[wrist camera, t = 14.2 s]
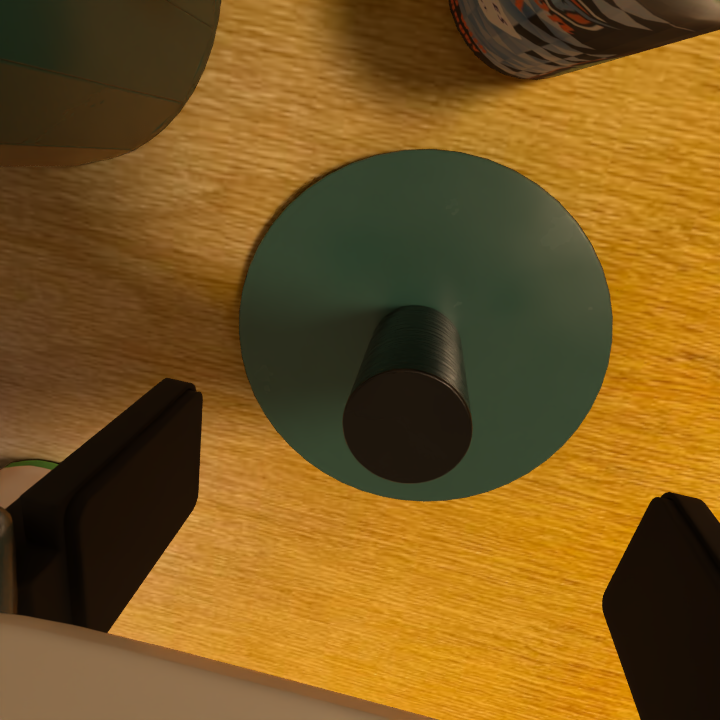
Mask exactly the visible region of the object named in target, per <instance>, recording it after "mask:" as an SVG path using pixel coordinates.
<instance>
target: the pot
mask: <svg viewBox="0 0 720 720" xmlns="http://www.w3.org/2000/svg"><path fill="white" fill-rule="evenodd" d="M220 4H221V0H0V167H20V166H78V165H81V164H85V163H88V162H96V161H101V160H106V159H111V158H114V157H117V156H120V155H122V154H125V153H128V152H130V151H132V150H134V149H136V148H138V147H139V146H141V145H143V144H145V143H146V142H148V141H149V140H151V139H152V138H153V137H154V136H156V135H157V134H158V133H159V132H161V131H162V130H163V129H164V128H165V127H166V126H167V125H168V124H169V123H170V122H171V121H172V120H173V119H174V118H175V116H176V115H177V114H178V113H179V112H180V111H181V109H182V108H183V106H184V105H185V103H186V102H187V100H188V99H189V97H190V96H191V95H192V93H193V91H194V89H195V87H196V85H197V83H198V81H199V79H200V77H201V75H202V73H203V71H204V69H205V66H206V63H207V60H208V58H209V55H210V52H211V49H212V46H213V42H214V38H215V33H216V29H217V24H218V20H219V13H220Z"/></svg>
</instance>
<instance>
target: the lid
mask: <svg viewBox="0 0 720 720" xmlns="http://www.w3.org/2000/svg"><path fill="white" fill-rule="evenodd" d="M612 321H613V316H612V308H611V301H610V293H609V289H608V285H607V282H606V279H605V275H604V272H603V268H602V266H601V264H600V261H599V259H598V257H597V255H596V253H595V250H594V248H593V246H592V244H591V242H590V241H589V239H588V238H587V236H586V235H585V233H584V232H583V230H582V229H581V227H580V226H579V224H578V223H577V221H576V220H575V219H574V218H573V217H572V216H571V215H570V214H569V212H568V211H567V210H566V209H565V208H564V207H563V206H562V205H561V204H560V202H559V201H557V200H556V199H555V198H554V197H553V196H551V195H550V194H549V193H548V192H546V191H545V190H544V189H543V188H542V187H540V186H539V185H538V184H536V183H535V182H533V181H531V180H530V179H528V178H526V177H525V176H523V175H521V174H520V173H518V172H516V171H515V170H513V169H510V168H508V167H506V166H503V165H501V164H498V163H496V162H494V161H491V160H489V159H486V158H482V157H478V156H474V155H470V154H466V153H462V152H455V151H446V150H437V149H417V150H401V151H396V152H390V153H384V154H378V155H375V156H372V157H369V158H366V159H363V160H359V161H356V162H353V163H351V164H349V165H347V166H344V167H342V168H340V169H338V170H336V171H334V172H332V173H330V174H328V175H326V176H325V177H324V178H322V179H321V180H319V181H318V182H316V183H315V184H313V185H312V186H310V187H309V188H307V189H306V190H305V191H304V192H302V193H301V194H300V195H299V196H298V197H297V198H296V199H295V200H294V201H292V202H291V203H290V204H289V205H288V206H287V207H286V208H285V209H284V211H283V212H282V213H281V214H280V215H279V217H278V218H277V219H276V220H275V221H274V223H273V224H272V225H271V227H270V228H269V230H268V231H267V233H266V234H265V236H264V238H263V239H262V241H261V242H260V244H259V246H258V248H257V250H256V252H255V255H254V257H253V259H252V261H251V264H250V266H249V269H248V272H247V276H246V279H245V283H244V286H243V290H242V297H241V303H240V310H239V337H240V345H241V354H242V358H243V362H244V366H245V370H246V374H247V377H248V380H249V382H250V385H251V387H252V390H253V393H254V395H255V397H256V399H257V401H258V403H259V404H260V406H261V408H262V410H263V412H264V414H265V415H266V417H267V418H268V419H269V421H270V422H271V424H272V425H273V426H274V428H275V429H276V431H277V432H278V433H279V434H280V435H281V436H282V437H283V439H284V440H285V441H286V442H287V443H288V444H289V445H290V446H291V447H292V448H293V449H294V450H295V451H296V452H297V453H299V454H300V455H301V456H302V457H303V458H304V459H305V460H307V461H308V462H309V463H311V464H312V465H314V466H315V467H317V468H318V469H319V470H321V471H322V472H324V473H326V474H327V475H329V476H331V477H333V478H335V479H337V480H338V481H340V482H342V483H345V484H347V485H349V486H352V487H354V488H357V489H359V490H362V491H365V492H369V493H372V494H375V495H379V496H383V497H388V498H394V499H400V500H410V501H446V500H452V499H459V498H466V497H470V496H474V495H477V494H481V493H485V492H488V491H491V490H493V489H496V488H499V487H501V486H504V485H506V484H509V483H511V482H512V481H514V480H516V479H518V478H520V477H522V476H524V475H526V474H527V473H529V472H530V471H532V470H533V469H535V468H536V467H538V466H539V465H541V464H542V463H543V462H545V461H546V460H547V459H548V458H550V457H551V456H552V455H553V454H554V453H555V452H556V451H557V450H559V449H560V448H561V447H562V446H563V445H564V444H565V443H566V441H567V440H568V439H569V438H570V437H571V436H572V435H573V433H574V432H575V431H576V430H577V429H578V427H579V426H580V424H581V423H582V421H583V420H584V418H585V417H586V415H587V414H588V412H589V411H590V409H591V407H592V405H593V403H594V401H595V399H596V397H597V395H598V393H599V391H600V389H601V386H602V383H603V379H604V376H605V373H606V370H607V367H608V363H609V357H610V351H611V345H612Z"/></svg>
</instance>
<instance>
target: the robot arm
mask: <svg viewBox="0 0 720 720" xmlns="http://www.w3.org/2000/svg"><path fill="white" fill-rule="evenodd" d="M202 403H203V397H202V394H201V392H197V391H196V388H195V385H194V384H192V383H188V382H184V381H179V380H175V379H170V378H165V379H163V380H162V381H161V382H160V383H158V384H157V385H156V386H155V387H153V388H152V389H151V390H150V391H149V392H147V393H146V394H145V395H144V396H142V397H141V398H140V399H139V400H137V401H136V402H135V403H134V404H133V405H131V406H130V407H129V408H128V409H126V410H125V411H124V412H123V413H121V414H120V415H119V416H118V417H117V418H115V419H114V420H113V421H112V422H110V423H109V424H108V425H107V426H105V427H104V428H103V429H102V430H100V431H99V432H98V433H97V434H96V435H94V436H93V437H92V438H91V439H89V440H88V441H87V442H86V443H84V444H83V445H82V446H81V447H80V448H78V449H77V450H76V451H75V452H73V453H72V454H71V455H70V456H68V457H67V458H66V459H65V460H64V461H62V462H61V463H60V464H59V465H57V466H56V467H55V468H54V469H52V470H51V471H50V472H49V473H48V474H46V475H45V476H44V477H43V478H41V479H40V480H39V481H38V482H36V483H35V484H34V485H33V486H32V487H30V488H29V489H28V490H27V491H25V492H24V493H23V494H22V495H20V497H19V498H18V499H17V500H15V501H14V502H13V503H12V504H11V505H9V506H8V507H7V508H6V509H4V508H3V507H0V720H438V719H434V718H430V717H426V716H423V715H419V714H415V713H412V712H408V711H404V710H400V709H397V708H393V707H389V706H386V705H382V704H378V703H374V702H371V701H367V700H363V699H359V698H356V697H352V696H348V695H344V694H341V693H337V692H333V691H330V690H326V689H322V688H318V687H314V686H311V685H307V684H303V683H299V682H295V681H292V680H288V679H284V678H280V677H276V676H273V675H269V674H265V673H261V672H257V671H254V670H250V669H246V668H242V667H238V666H235V665H231V664H227V663H223V662H219V661H216V660H212V659H208V658H204V657H200V656H197V655H193V654H189V653H185V652H181V651H178V650H174V649H170V648H166V647H162V646H158V645H153V644H149V643H145V642H141V641H137V640H133V639H129V638H125V637H121V636H116V635H112V634H108V631H109V630H110V628H111V627H112V625H113V624H114V622H115V621H116V620H117V618H118V617H119V615H120V614H121V612H122V611H123V610H124V608H125V607H126V605H127V604H128V602H129V601H130V600H131V598H132V597H133V595H134V594H135V592H136V591H137V590H138V588H139V587H140V585H141V584H142V582H143V581H144V580H145V578H146V577H147V575H148V574H149V572H150V571H151V570H152V568H153V567H154V565H155V564H156V562H157V561H158V559H159V558H160V557H161V555H162V554H163V552H164V551H165V549H166V548H167V547H168V545H169V544H170V542H171V541H172V539H173V538H174V537H175V535H176V534H177V532H178V531H179V529H180V528H181V527H182V525H183V524H184V522H185V521H186V519H187V518H188V517H189V515H190V514H191V512H192V511H193V509H194V507H195V505H196V502H197V498H198V490H199V468H200V446H201V424H202ZM602 608H603V613H604V616H605V619H606V622H607V625H608V627H609V630H610V633H611V636H612V639H613V642H614V645H615V647H616V650H617V653H618V656H619V659H620V662H621V665H622V667H623V670H624V673H625V676H626V679H627V682H628V685H629V687H630V690H631V693H632V696H633V699H634V702H635V705H636V707H637V710H638V713H639V716H640V719H641V720H720V523H719V522H718V520H717V519H716V518H715V516H714V515H713V513H712V512H711V511H710V509H709V508H708V507H707V505H706V504H705V503H704V502H703V501H702V500H700V499H697V498H693V497H688V496H684V495H680V494H675V493H671V492H668V493H665V494H663V495H662V496H661V498H660V497H655V498H654V499H652V501H651V502H650V504H649V506H648V508H647V510H646V512H645V514H644V516H643V518H642V520H641V522H640V524H639V526H638V527H637V529H636V531H635V533H634V535H633V537H632V539H631V541H630V543H629V545H628V547H627V549H626V551H625V553H624V555H623V557H622V559H621V561H620V563H619V565H618V567H617V569H616V571H615V573H614V574H613V576H612V578H611V580H610V582H609V584H608V586H607V588H606V590H605V592H604V595H603V600H602Z"/></svg>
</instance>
